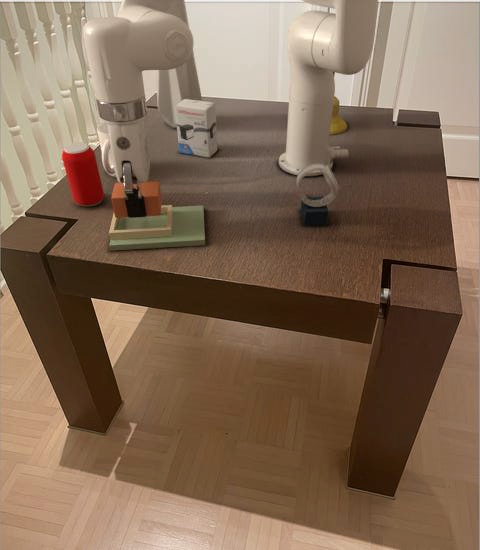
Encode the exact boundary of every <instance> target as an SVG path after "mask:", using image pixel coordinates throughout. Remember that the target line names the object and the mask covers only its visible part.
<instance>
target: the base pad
mask: <svg viewBox="0 0 480 550" xmlns="http://www.w3.org/2000/svg"><path fill="white" fill-rule="evenodd" d="M204 210H205V209H204V205H187V206H186V205H184V206H173V205H172V204H166V205H165V204H163V205H162V204H161V215H160V216H146V217H135V218H129V217H123V218H115V214H114V213H113V214H112V219H111V222H110V227H109V231H108V235H109V240H110V241H109V246H108V247H109V249H110V251H111V252H112V251H128V250H129V251H130V250H131V251H132V250H145V249H161V248H163V249H164V248H178V247H181V248H182V247H196V246H206V231H205V212H204Z"/></svg>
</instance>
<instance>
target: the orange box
mask: <svg viewBox="0 0 480 550" xmlns="http://www.w3.org/2000/svg"><path fill="white" fill-rule="evenodd" d="M140 183H141V193H142V196H144V201H145V208H146V216H160V215H161V206H162V202H163V201H162V200H163V197H162V190H161V182H160V180H155V181H154V180H153V181H147V182H145V183H143V182H140ZM133 187H134V188H136V189H137V184H133ZM110 199H111V204H112V208H113V209H112V210H113V214H115V218H123V217H128V214H127V208H126V203H125V195H124V187H123V183H122V184H121V183H120V182H115V183H114V186H113V191H112V194H111V198H110Z"/></svg>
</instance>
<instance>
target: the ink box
mask: <svg viewBox="0 0 480 550" xmlns="http://www.w3.org/2000/svg"><path fill="white" fill-rule="evenodd" d="M216 110H217V109H216V103H214V102H211V101H204V100H202V101H197V100H190V99H184V100H182V101H181V102H180V103H178V104H177V105H175V112H176V122H177V128H176V130H177V131H176V132H177V139H178V141H177V142H178V150H179V151H178V152H179V154H187V155H192V156H199V157H204V158H211V157H212V156H213V155H214V154H215V153H216V152H217V151H218V131H217V111H216Z"/></svg>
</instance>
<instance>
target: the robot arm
mask: <svg viewBox="0 0 480 550" xmlns="http://www.w3.org/2000/svg"><path fill="white" fill-rule="evenodd" d="M301 1H302V2H304V3H305V4H310V5H312V6H318V7H323V8H327V9H334V10H335V12H328V11H322V10H315V9H314V10H307V11H303V12H301V13H299V14H298V15H297V16H296V17H295V18H294V19H293V20H292V22H291V23H290V26H289V29H288V32H287V39H286V44H287V45H286V47H287V54H288V56H287V57H288V61H289V94H288V95H289V96H288V112H287V127H286V128H287V130H286V144H285V152H283V153H282V154H281V155H280V156H279V158H278V166H279V167H280V168H281V169H282V170H283V171H284V172H286V173H288V174H291V175H295V176H298V174H299V173H300V171H301V170H302V169H303V168H305V167H306V166H308V165H310V164H315V163H317V164H318V163H320V164H324V165H325V166H327V165H328V166H329V167H330V169H331V170H332V169H333V165H334V160H335V159H347V158H348V157H349V149H347V148H345V149H344V148H343V149H341V147H340V146H339V145H335V146H330V144H329V143H330V135H331V134H330V127H331V119H332V110H333V102H334V96H335V93H336V81H335V80H336V79H335V75H333V72H335V74H340V75H345V76H352V75H356V74H358V73H360V72H361V71H362V70H363V69H364V68H365V67H366V66H367V64H368V62H369V60H370V59H371V56H372V52H373V48H374V44H375V43H374V42H375V36H376V26H377V16H378V7H379V6H378V5H379V0H301ZM172 2H173V0H122V2H121V3H120V4H121V5H120V7H119V9H118V12H117V16H103V17H102V16H101V17H95V18H92V19H89V20H88V21H86V22H85V24H84V25H83V26H82V27H83V28H82V36H83V41H84V47H85V51H86V56H87V61H88V62H87V63H88V66H89V72H90V77H91V81H92V87H93V91H94V96H95V102H96V106H97V112H98V116H99V117H98V118H99V121H100V122H101V123H105V124H108V131H109V139H110V144H111V150H112V156H113V162H114V167H115V172H116V176H117V177H116V180H117V183H121V184H122V183H123V187H124V195H125V203H126V208H127V214H128V217H129V218H135V217H146V208H145V201H144V196H142V193H141V183H140V182H143V183H145V182H148V180H149V175H150V170H151V169H150V168H151V154H150V148H149V144H148V143H149V142H148V137H147V131H146V125H145V122H144V121H145V120H146V119H147V118H148V115H149V113H148V108H147V107H148V106H147V100H146V91H145V85H144V84H145V83H144V77H143V72H144V71H156V70H170V69H174V68H177V67H180V66H181V65H183V64H184V63H185V62H186V61H187V60H188V59H189V58H190V56H191V54H192V51H194V45H195V41H194V35H193V33H192V30H191V28H190V26H189V27H188V26H187V24H186V23H185V22H184V21H182V20H181V19H180V18H178V17H176V16H174V15H171V14H168V13H166V12H167V10H168V8H169V7H170V5H171V3H172ZM321 175H323V173H322V171H320V170H319V171H313V172H309V173H308V174H307V175H305V176H304V177H317V176H321ZM133 184H137V189H136V188H134V187H133Z"/></svg>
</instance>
